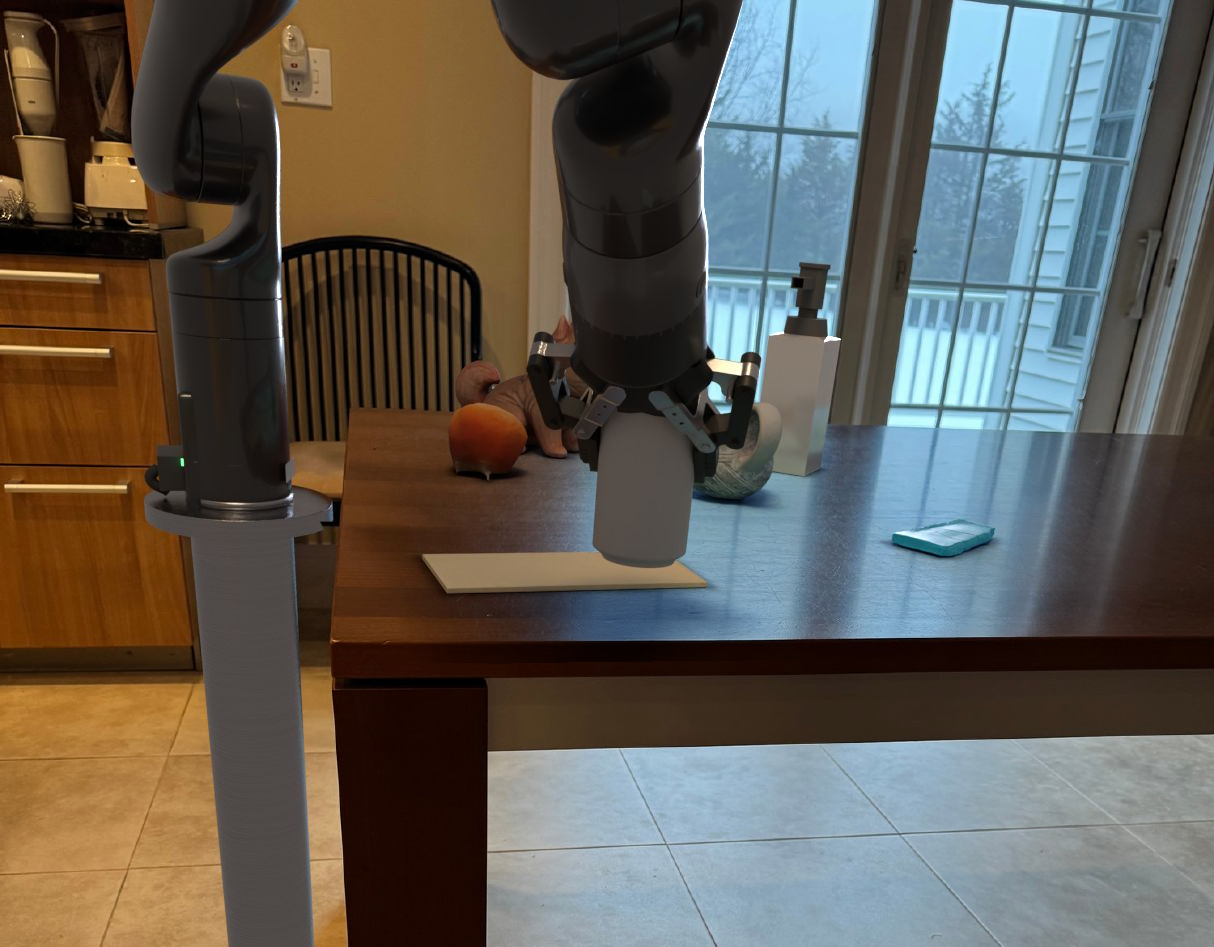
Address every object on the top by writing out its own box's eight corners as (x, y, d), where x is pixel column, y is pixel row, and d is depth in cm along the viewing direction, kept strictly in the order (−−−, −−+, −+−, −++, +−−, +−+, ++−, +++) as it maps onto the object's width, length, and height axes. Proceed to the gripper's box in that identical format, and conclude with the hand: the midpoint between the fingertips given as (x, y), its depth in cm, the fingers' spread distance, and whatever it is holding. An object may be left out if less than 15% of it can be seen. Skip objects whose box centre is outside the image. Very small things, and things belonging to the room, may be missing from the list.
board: (446, 593, 79) (447, 588, 79) (422, 559, 87) (422, 553, 87) (706, 587, 86) (707, 582, 86) (662, 555, 93) (663, 550, 93)
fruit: (425, 462, 113) (443, 386, 114) (453, 491, 121) (471, 420, 121) (499, 472, 111) (518, 395, 112) (523, 502, 119) (541, 430, 119)
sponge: (1015, 534, 107) (963, 513, 110) (945, 548, 99) (891, 526, 102) (1010, 549, 107) (958, 528, 111) (939, 565, 100) (886, 542, 103)
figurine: (596, 466, 126) (606, 321, 119) (438, 444, 130) (439, 303, 124) (622, 453, 134) (633, 317, 128) (473, 433, 139) (476, 300, 132)
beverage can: (612, 572, 73) (628, 375, 68) (577, 547, 78) (590, 362, 73) (700, 570, 75) (723, 379, 70) (661, 545, 81) (679, 366, 75)
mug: (730, 484, 123) (742, 387, 118) (809, 511, 114) (826, 406, 109) (659, 489, 117) (668, 387, 113) (736, 517, 108) (750, 407, 104)
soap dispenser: (744, 470, 131) (771, 260, 121) (769, 460, 138) (796, 261, 128) (798, 479, 129) (830, 265, 119) (820, 468, 136) (852, 266, 126)
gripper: (782, 231, 60) (764, 431, 76) (520, 208, 62) (556, 409, 78) (762, 344, 58) (748, 527, 74) (490, 318, 60) (533, 502, 75)
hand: (649, 466), depth 76 cm, fingers closed on beverage can, 6 cm apart
